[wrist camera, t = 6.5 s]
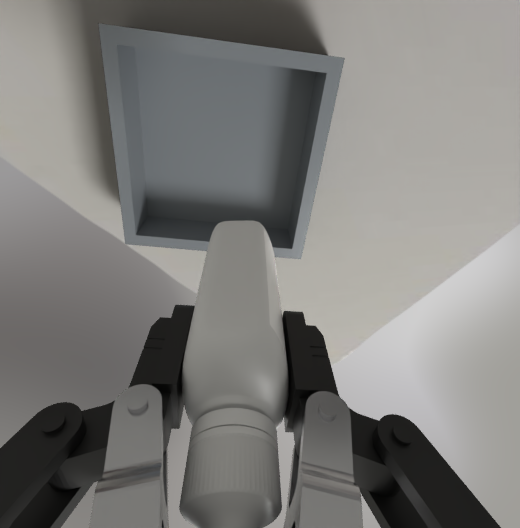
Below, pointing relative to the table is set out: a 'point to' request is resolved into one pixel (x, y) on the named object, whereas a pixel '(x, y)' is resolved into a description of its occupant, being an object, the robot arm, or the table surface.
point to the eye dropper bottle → (235, 383)
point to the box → (215, 135)
